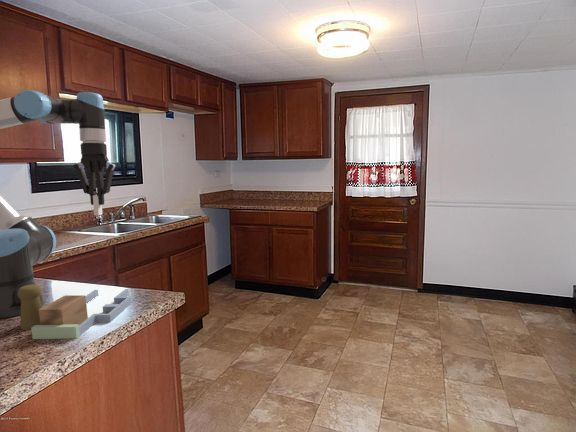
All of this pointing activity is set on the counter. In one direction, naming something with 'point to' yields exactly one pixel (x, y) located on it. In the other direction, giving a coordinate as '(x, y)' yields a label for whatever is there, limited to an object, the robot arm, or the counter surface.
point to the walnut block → (64, 311)
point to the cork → (30, 306)
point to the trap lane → (75, 329)
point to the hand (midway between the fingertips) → (98, 214)
